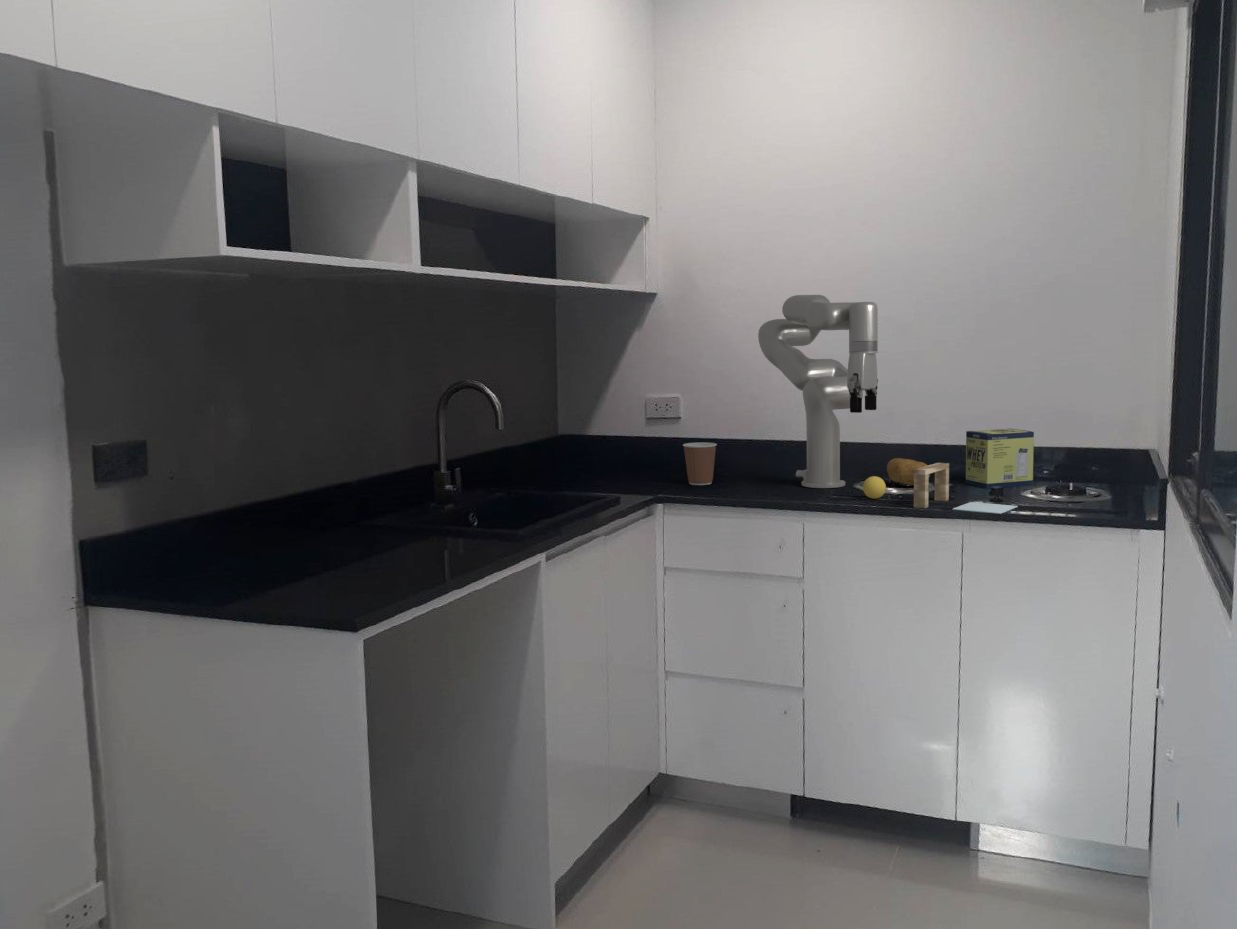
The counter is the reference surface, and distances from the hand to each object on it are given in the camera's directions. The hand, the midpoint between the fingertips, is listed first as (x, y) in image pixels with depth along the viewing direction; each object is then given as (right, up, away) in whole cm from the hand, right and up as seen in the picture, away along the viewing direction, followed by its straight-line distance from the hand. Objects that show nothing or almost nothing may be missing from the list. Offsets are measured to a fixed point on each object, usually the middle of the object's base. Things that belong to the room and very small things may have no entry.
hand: (863, 411), depth 284 cm
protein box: (+42, -21, +14) cm, 49 cm away
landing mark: (+25, -25, -23) cm, 43 cm away
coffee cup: (-42, -21, +32) cm, 57 cm away
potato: (+17, -21, +15) cm, 31 cm away
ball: (+2, -21, -4) cm, 21 cm away
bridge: (+14, -25, -14) cm, 32 cm away
